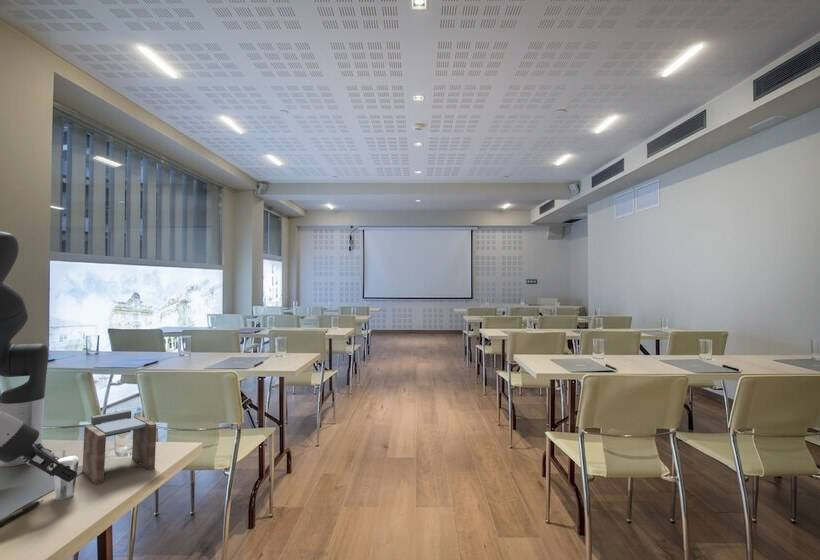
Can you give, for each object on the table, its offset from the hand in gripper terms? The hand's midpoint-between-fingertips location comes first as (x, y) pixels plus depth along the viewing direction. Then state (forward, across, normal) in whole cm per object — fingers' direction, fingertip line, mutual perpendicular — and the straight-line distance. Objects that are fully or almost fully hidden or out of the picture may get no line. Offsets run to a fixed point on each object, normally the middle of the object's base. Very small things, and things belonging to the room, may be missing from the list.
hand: (69, 472), depth 95 cm
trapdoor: (+7, +10, -10) cm, 16 cm away
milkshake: (+3, 0, +4) cm, 5 cm away
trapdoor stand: (+12, +8, -5) cm, 16 cm away
